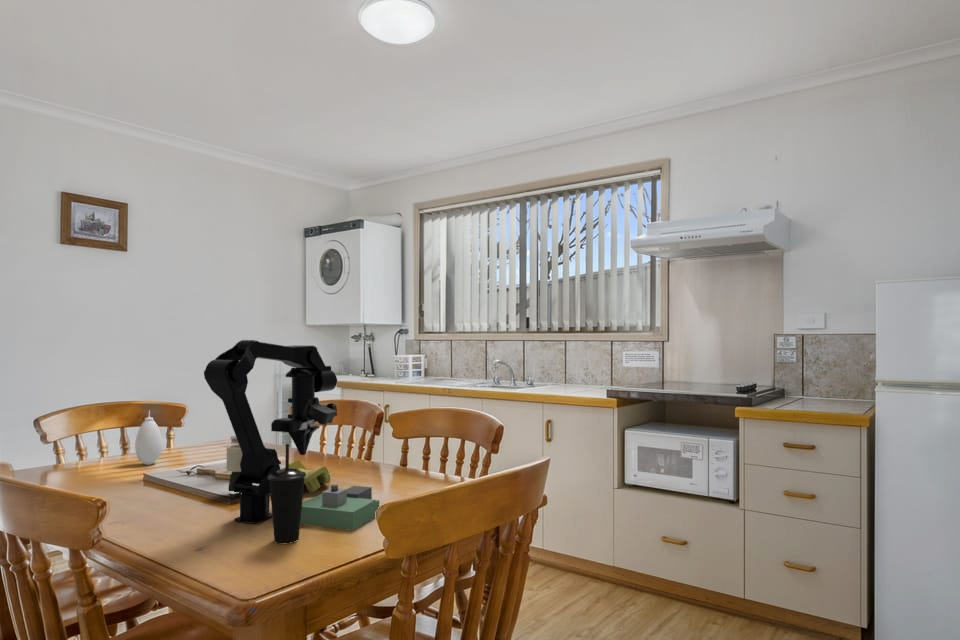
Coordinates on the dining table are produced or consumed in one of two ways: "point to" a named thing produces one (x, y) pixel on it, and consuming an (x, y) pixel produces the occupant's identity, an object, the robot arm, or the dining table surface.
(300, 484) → the drinking cup
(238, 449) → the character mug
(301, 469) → the plastic component
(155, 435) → the white bulb air blower
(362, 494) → the charcoal rectangular prism
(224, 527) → the dining table surface
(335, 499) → the green base with blocks
